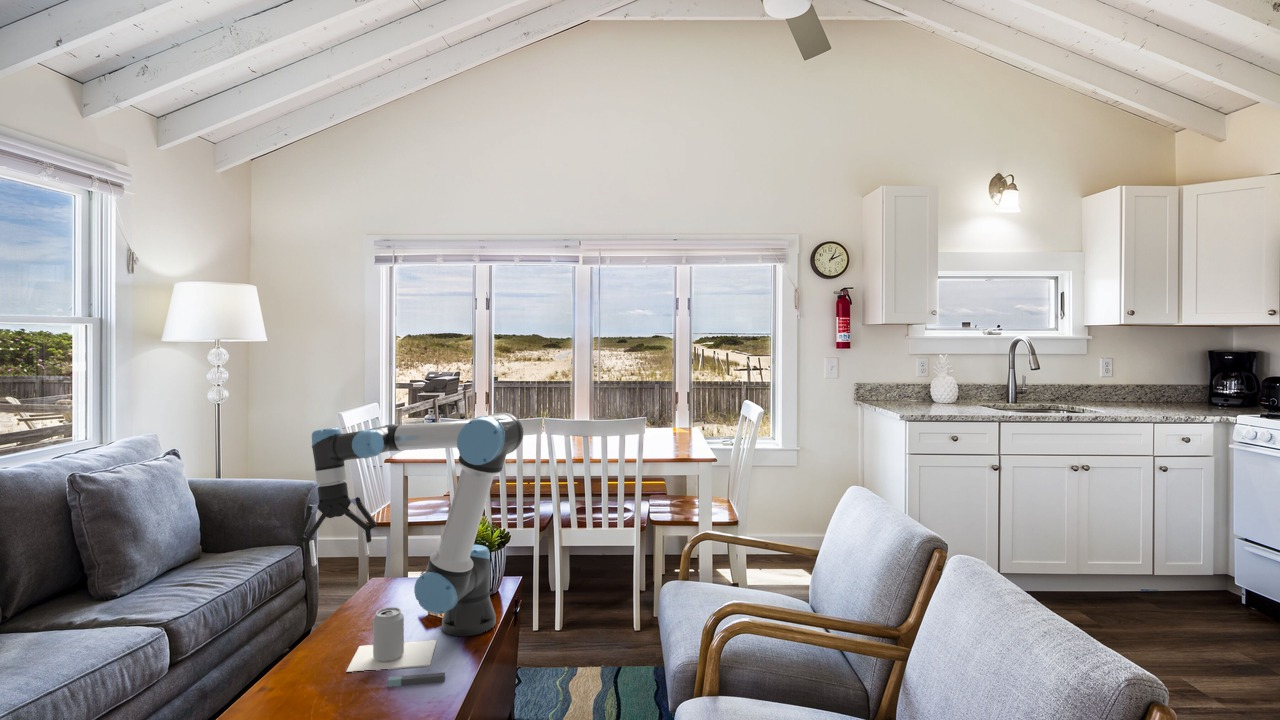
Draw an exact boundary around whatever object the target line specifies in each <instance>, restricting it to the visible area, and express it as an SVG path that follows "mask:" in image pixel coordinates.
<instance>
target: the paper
mask: <svg viewBox="0 0 1280 720" xmlns="http://www.w3.org/2000/svg"><path fill="white" fill-rule="evenodd" d="M437 641H438V640H437V639H430V640H419V641H406V642H405V641H404V653H403V654H402V655H401V656H400V657H399V658H398V659H396V660H394V661H391V662H379V661H377V660H376V659H375V658H374V657H373V644H365V645H359V646H358V647H357V650H356V651H355V654H354V656H353V657H352V659H351V660H350V663H349V665H348V667H347V669H346V671H345V673H346V672H352V673H354V672H353V671H364V670H376V671H381V670H380V669H388V670H397V669H398V670H399V669H411V668H423V667H430V666H431V664H432V660H433V657H434V656H433V655H434V653H435V649H436V646H437ZM364 672H365V671H364Z"/></svg>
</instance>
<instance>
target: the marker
mask: <svg viewBox="0 0 1280 720" xmlns="http://www.w3.org/2000/svg"><path fill="white" fill-rule="evenodd" d="M445 682H446V672H437V673H434V672H433V673H424V674H413V675H410V674H409V675H394V676H389V677H388V679H387V688H395V686H396V687H405V686H415V685H416V686H417V685H426V684H427V685H428V684H437V683H438V684H439V683H445ZM392 686H394V687H392Z"/></svg>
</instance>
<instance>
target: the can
mask: <svg viewBox="0 0 1280 720" xmlns="http://www.w3.org/2000/svg"><path fill="white" fill-rule="evenodd" d="M404 618H405V616H404V613H402V609H401V608H400V607H395V606H393V607H391V606H390V607H385V608H381V609H378V610H377V611H375V615H374V617H373V618H372V645H373V657H374V658H375V659H376V660H377V661H379V662H391V661H394V660H396V659H398V658H399V657H400V656H401V655H402V654H403V653H404V642H405V637H404V636H405V627H404V625H405V624H404V623H405V621H404Z"/></svg>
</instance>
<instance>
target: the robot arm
mask: <svg viewBox="0 0 1280 720" xmlns="http://www.w3.org/2000/svg"><path fill="white" fill-rule="evenodd" d="M523 439H524V428H523V424H522V423H521V421H520V420H519V419H518V417H517V416H515V415H514V414H512V413H509V412H497V413H493V414H490V415H489V414H488V415H481V416H477V417H475V418H472V419H471V420H456V421H442V422H441V421H440V422H427V423H426V422H425V423H412V424H411V423H410V424H397V423H396V424H395V423H393V424H392V423H391V424H386V425H383V426H379V427H373V428H367V429H364V430H358V431H352V432H346V433H342V432H341V429H340V428H339V427H332V428H324V429H316V430H314V431H312V433H311V448H312V449H311V450H312V454H313V459H314V460H313V461H314V470H315V479H316V485H318V487H316V489H317V497H318V504H309V505H307V506H306V515H305V517H304V519H303V522H302V525H301V527H300V530H299V532H298V535H297V537H296V542H301V543H302V542H303V543H304V546H305V553H306V555H309V554H310V561H311V567H315V566H316V565H317V556H316V555H317V554H316V547H315V546H316V545H315V540H314V539H312V538H313V537H314V535H315V534H316V533H317V531H318V530H319V528H320V526H321V525H322V524H323V522H324V521H325V519H327V518H328V519H333V518H335V517H337V518H338V517H343V515H345V516H346V517H348V518H350V520H352V521H353V522H354V523H355V524H356V525H358V526H359V527H360V528H361V529H363V531H362V538H363V540H362V541H363V548H364V555H365V556H369V554H370V551H369V550H370V549H369V543H372V531H371V530H372V529H374V528H376V527H377V525H378V524H377V521H376V520H375V519H374V518H373V516H372V515H371V513H370V511H368V509H367V508H366V506H365V505H364V504H363V500H362V497H361V496H357V497H354V498H350V496H349V492H348V489H349V488H348V483H347V482H346V480H347V475H346V468H345V461H348V460H359V459H360V460H361V459H369V458H373V457H377V456H379V455H380V454H382V453H386V452H397V451H399V452H401V451H413V450H415V451H416V450H431V449H432V450H435V449H457V450H458V454H459V456H458V459H457V462H458V463H459V465H460V467H461V470H460V473H459V477H458V481H457V485H456V486H455V487H456V488H455V492H454V494H453V498H452V500H451V501H452V502H451V505H450V508H449V511H448V515H447V519H446V522H445V524H444V525H445V526H444V528H443V532H442V535H441V540H440V542H439V546H438V549H436V550H435V551H434V552H432V553H431V554H430V555H429V556H430V557H429V559H428V563H427V566H426V570H425V572H423V573H422V574H420V575H419V577H418V578H417V579H416V581H415V583H414V587H413V588H414V589H413V590H414V591H413V593H414V596H415V597H414V598H415V599H416V601H417V602H418V605H420V607H421V608H422V609H423V610H424V611H426V612H428V613H430V614H433V615H442V614H443V616H442V618H441V619H442V620H441V630H442V632H444V633H445V634H448V635H449V636H454V637H472V636H477V635H481V634H484V633H486V632H489V631H491V630H492V629H493V628H495V626H496V624H497V622H496V621H497V614H496V611H495V609H494V606H493V603H492V601H491V600H492V599H491V597H490V585H491V583H490V580H491V579H490V573H491V572H490V570H491V569H490V568H491V567H490V566H491V565H490V564H491V563H490V561H491V558H490V550H489V548H488V547H487V546H485V545H481V544H475V541H476V538H477V534H478V530H479V529H480V528H479V527H480V524H481V521H482V518H483V517H482V516H483V514H484V511H485V507H486V504H487V500H488V497H489V493H490V491H491V487H492V483H493V481H494V477H495V476H496V475H498V474H500V473H501V472H502V471H503V467H504V464H505V461H506V457H507V455H510V454H511V453H513V452H514V451H516V450H517V449H518V448H519V447H520V445H521V443H522V442H523ZM351 504H353V506H357V508H358V510H359V511H360V513H361V514H362V515H363V517H364V518H365V519H366V521H367V522H368V523H369V524H368V523H367V522H365V521H364V520H363V519H362V518H360V517H359V516H358V515H357V514H356V513H354V512H353V511H352V510H351V509H350V508H349V507H350V505H351ZM317 510H318V511H319V512H320V513H322V514H321V515H320V516H319V518H318V520H316V523H315V524H314V525H313V527H312V528H311V529H310V530H309V533H307V536H306V532H307V530H308V527H309V525H310V522H311V519H312V516H313V514H314V513H315V512H316V511H317ZM311 539H312V540H311ZM491 628H492V629H491ZM488 630H489V631H488ZM485 631H486V632H485ZM483 632H484V633H483Z"/></svg>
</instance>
